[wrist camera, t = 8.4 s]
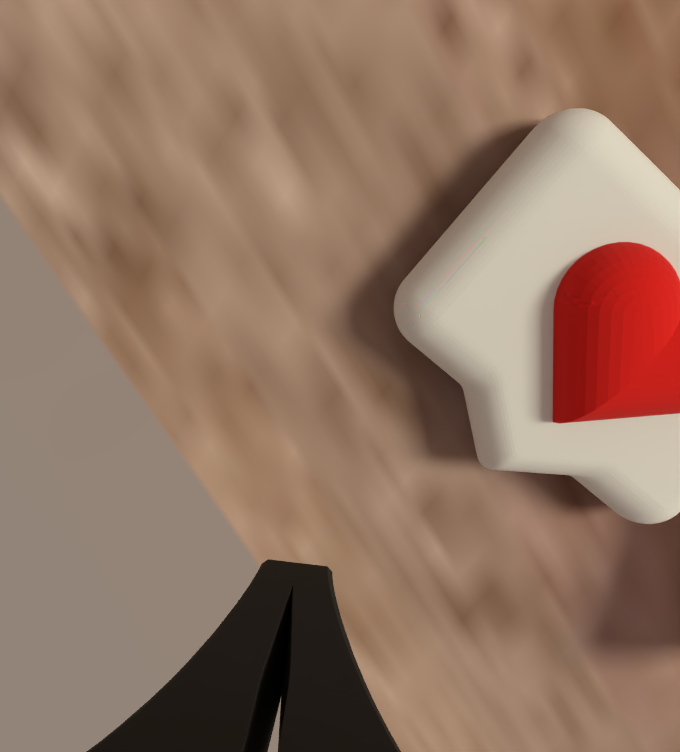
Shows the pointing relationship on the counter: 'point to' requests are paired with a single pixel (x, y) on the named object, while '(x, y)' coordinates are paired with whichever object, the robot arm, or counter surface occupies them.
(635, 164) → the icon
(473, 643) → the counter surface
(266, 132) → the counter surface
